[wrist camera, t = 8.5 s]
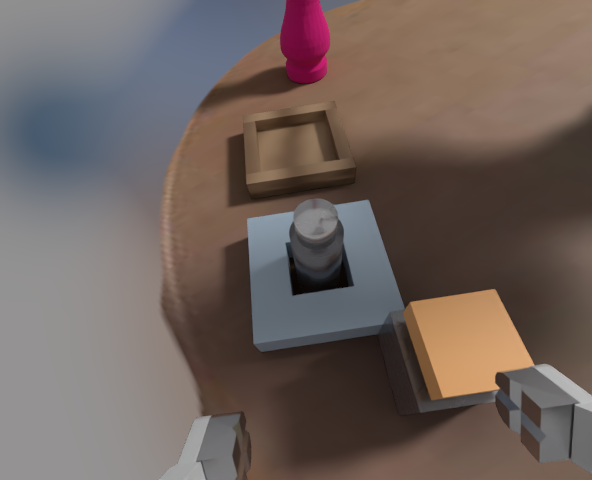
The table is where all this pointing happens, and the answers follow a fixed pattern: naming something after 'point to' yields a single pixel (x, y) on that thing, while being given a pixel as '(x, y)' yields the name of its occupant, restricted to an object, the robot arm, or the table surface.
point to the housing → (413, 372)
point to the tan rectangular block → (464, 342)
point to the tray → (296, 150)
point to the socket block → (325, 304)
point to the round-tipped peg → (317, 245)
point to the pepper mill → (305, 40)
